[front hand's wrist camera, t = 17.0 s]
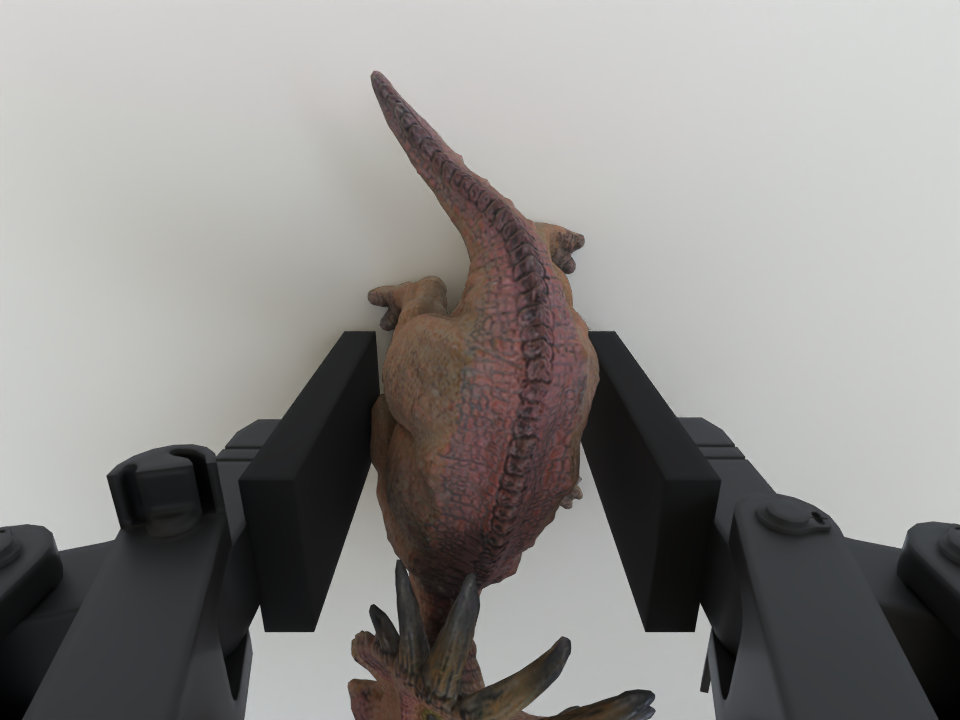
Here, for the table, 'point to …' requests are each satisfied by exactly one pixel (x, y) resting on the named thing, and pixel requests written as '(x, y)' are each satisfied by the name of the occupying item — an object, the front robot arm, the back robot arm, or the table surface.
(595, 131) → the table surface
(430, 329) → the dinosaur figurine
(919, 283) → the table surface
